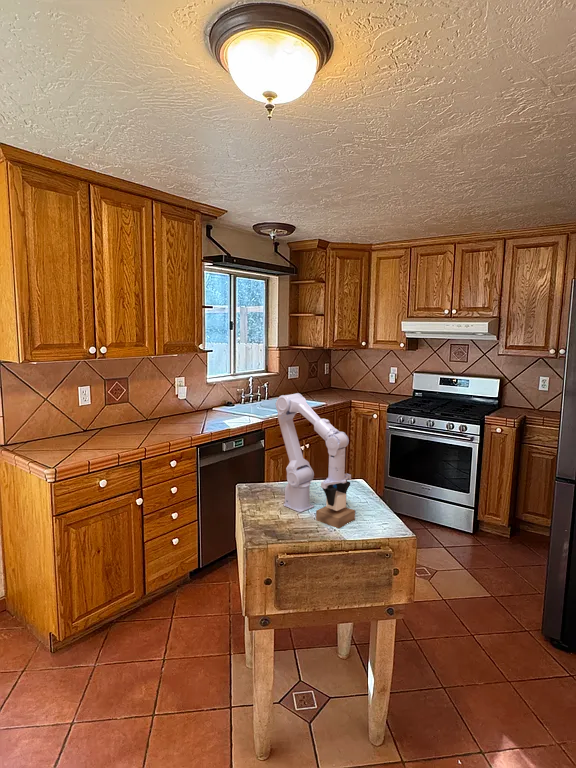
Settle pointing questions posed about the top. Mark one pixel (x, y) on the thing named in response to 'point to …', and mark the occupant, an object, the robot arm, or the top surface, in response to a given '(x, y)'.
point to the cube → (338, 501)
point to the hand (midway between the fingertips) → (335, 502)
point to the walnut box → (335, 516)
